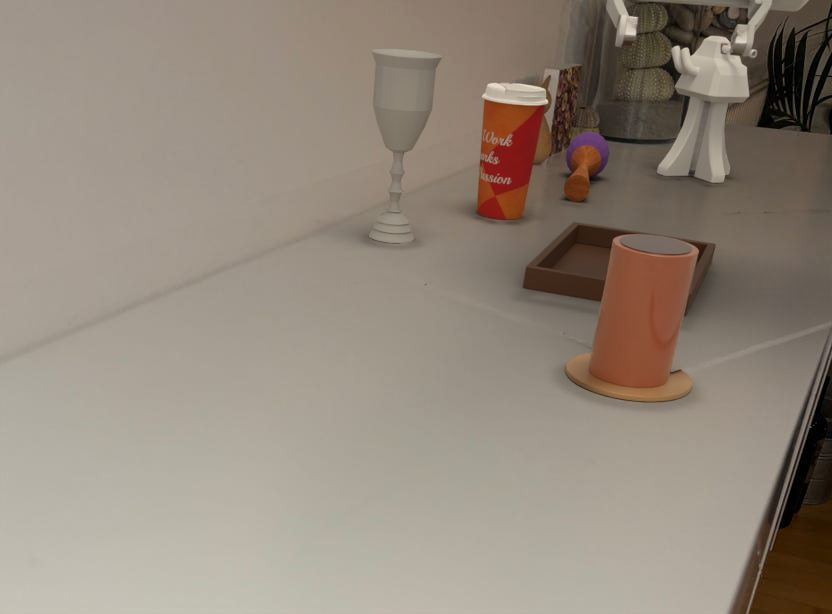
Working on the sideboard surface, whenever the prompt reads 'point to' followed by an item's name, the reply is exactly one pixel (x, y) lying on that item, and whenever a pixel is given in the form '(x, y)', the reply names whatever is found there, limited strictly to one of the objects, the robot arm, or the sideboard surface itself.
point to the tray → (593, 263)
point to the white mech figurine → (706, 109)
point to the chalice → (401, 123)
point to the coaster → (670, 390)
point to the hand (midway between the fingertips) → (682, 47)
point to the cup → (642, 309)
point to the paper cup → (508, 147)
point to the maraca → (584, 163)
